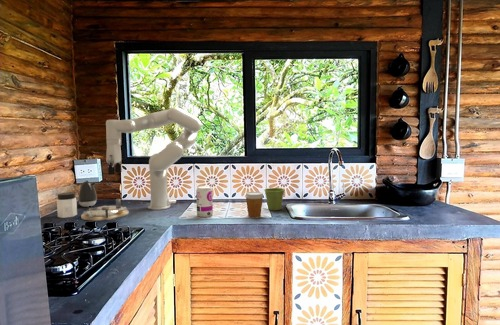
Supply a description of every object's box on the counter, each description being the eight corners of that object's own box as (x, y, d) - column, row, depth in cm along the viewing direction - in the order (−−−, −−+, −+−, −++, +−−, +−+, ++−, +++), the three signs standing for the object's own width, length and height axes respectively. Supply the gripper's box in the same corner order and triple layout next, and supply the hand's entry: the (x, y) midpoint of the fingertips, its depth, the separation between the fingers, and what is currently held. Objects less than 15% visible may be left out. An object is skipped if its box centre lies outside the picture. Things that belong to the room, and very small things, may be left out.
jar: (58, 218, 164) (56, 195, 163) (57, 215, 170) (56, 193, 170) (77, 216, 169) (76, 193, 168) (76, 213, 175) (75, 191, 174)
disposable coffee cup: (252, 213, 172) (252, 191, 171) (267, 215, 167) (267, 192, 166) (241, 216, 164) (241, 193, 163) (256, 219, 159) (256, 195, 158)
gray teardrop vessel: (92, 207, 188) (91, 182, 187) (75, 208, 189) (73, 182, 187) (100, 204, 199) (99, 179, 197) (84, 204, 199) (82, 180, 198)
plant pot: (279, 206, 188) (279, 187, 187) (288, 210, 177) (288, 190, 176) (261, 207, 185) (260, 188, 184) (268, 212, 173) (268, 191, 173)
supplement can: (215, 214, 170) (215, 186, 169) (207, 218, 162) (206, 188, 161) (202, 213, 173) (202, 185, 172) (193, 216, 166) (193, 187, 165)
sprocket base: (126, 208, 186) (125, 199, 186) (131, 217, 166) (130, 207, 165) (81, 213, 176) (81, 203, 175) (81, 223, 155) (80, 212, 155)
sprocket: (124, 206, 184) (123, 195, 184) (128, 214, 166) (127, 201, 166) (83, 210, 175) (83, 199, 174) (83, 219, 157) (83, 206, 156)
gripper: (113, 142, 185) (114, 171, 186) (100, 142, 167) (101, 175, 169) (126, 142, 185) (127, 171, 186) (115, 142, 168) (116, 175, 169)
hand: (115, 173), depth 177 cm, fingers open, 9 cm apart
